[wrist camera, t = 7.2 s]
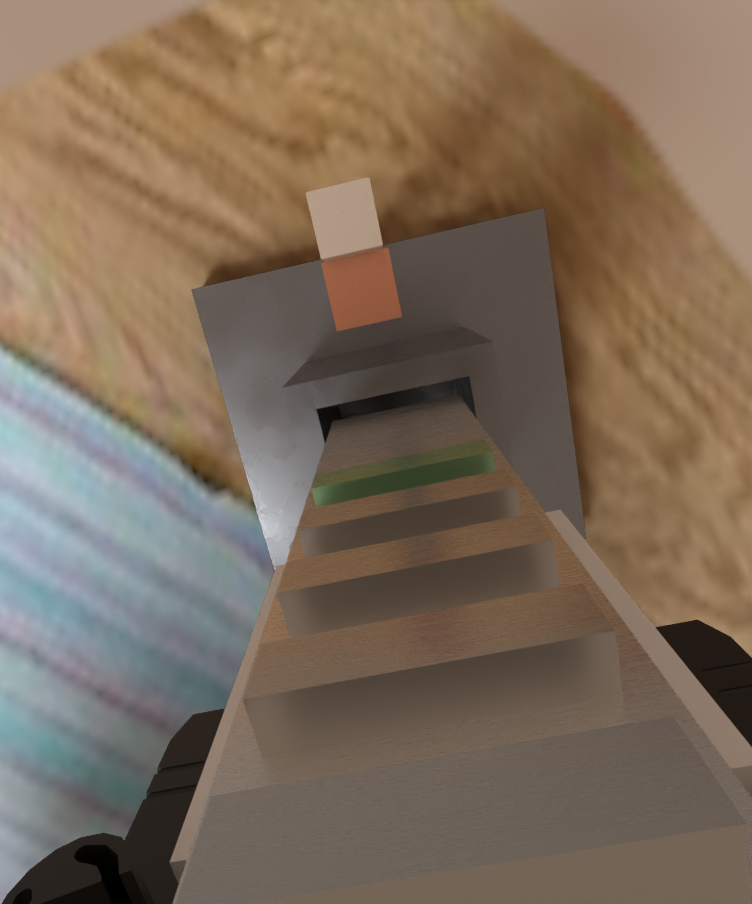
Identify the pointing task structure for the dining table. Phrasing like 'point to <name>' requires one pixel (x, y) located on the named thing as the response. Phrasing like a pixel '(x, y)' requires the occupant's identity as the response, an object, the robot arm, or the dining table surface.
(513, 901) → the column
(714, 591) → the dining table surface
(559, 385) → the stand base
